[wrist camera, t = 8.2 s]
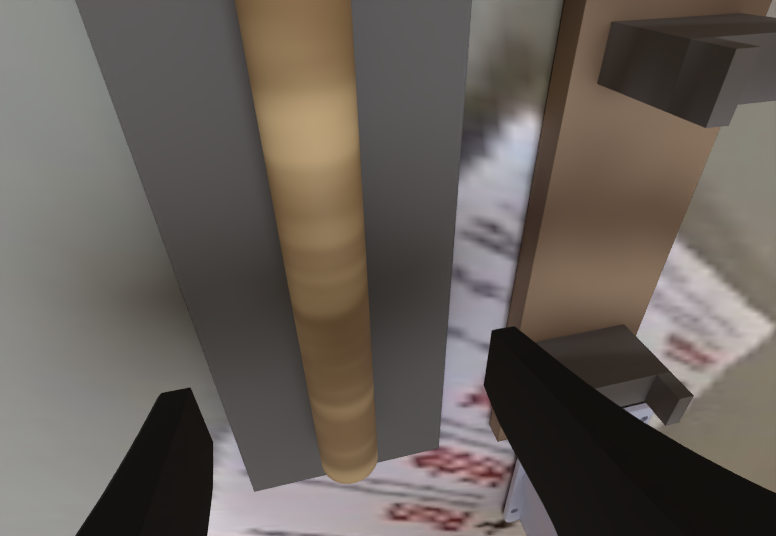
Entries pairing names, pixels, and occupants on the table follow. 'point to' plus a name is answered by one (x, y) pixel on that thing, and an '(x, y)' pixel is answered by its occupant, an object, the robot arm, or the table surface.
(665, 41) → the hook stand
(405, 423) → the mat
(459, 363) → the table surface
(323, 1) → the rail
